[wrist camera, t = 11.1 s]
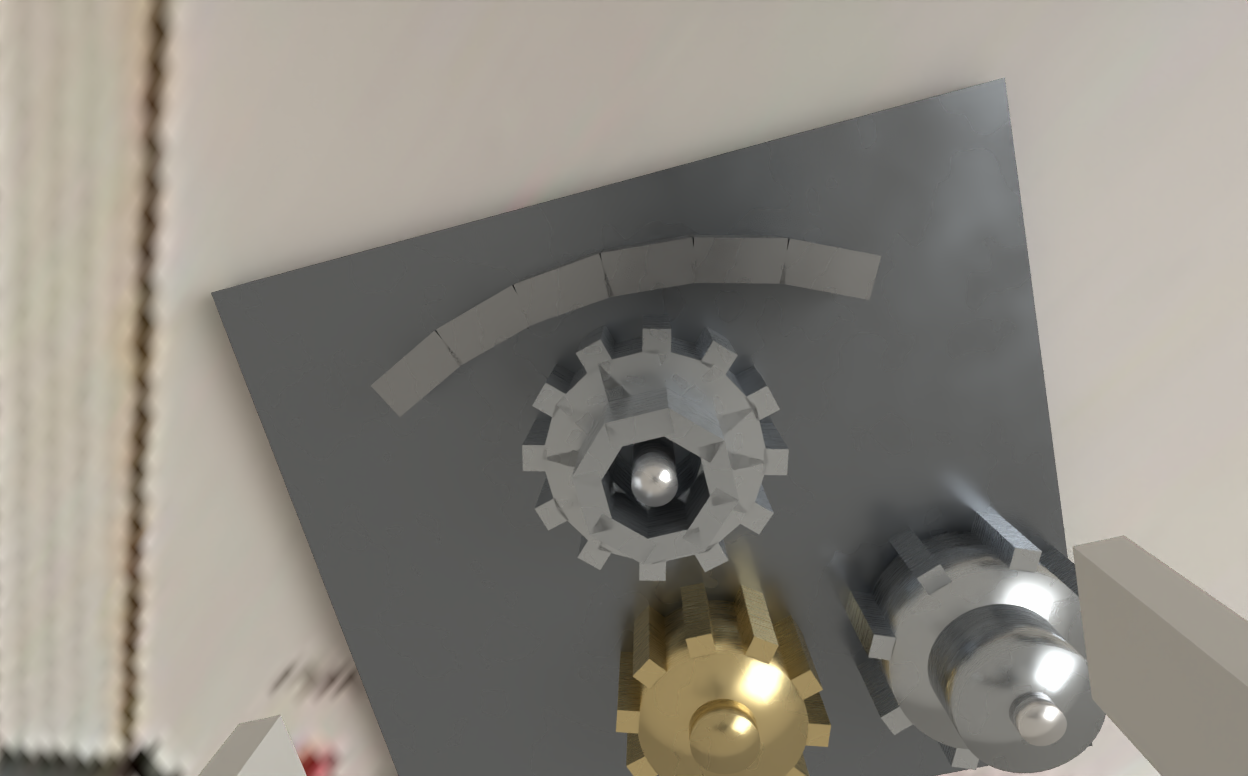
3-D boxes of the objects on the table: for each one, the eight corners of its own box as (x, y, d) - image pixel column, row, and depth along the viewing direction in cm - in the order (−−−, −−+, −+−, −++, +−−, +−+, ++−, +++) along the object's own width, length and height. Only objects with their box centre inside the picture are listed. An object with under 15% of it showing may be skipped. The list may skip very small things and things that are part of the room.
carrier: (229, 289, 27) (81, 317, 20) (988, 83, 25) (1126, 33, 18) (443, 848, 33) (387, 1025, 26) (1075, 725, 31) (1206, 882, 24)
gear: (507, 349, 26) (473, 385, 21) (743, 289, 26) (769, 311, 20) (571, 562, 28) (555, 645, 23) (792, 512, 28) (828, 585, 22)
